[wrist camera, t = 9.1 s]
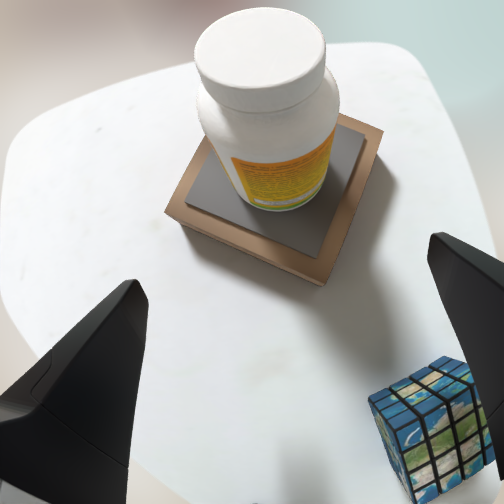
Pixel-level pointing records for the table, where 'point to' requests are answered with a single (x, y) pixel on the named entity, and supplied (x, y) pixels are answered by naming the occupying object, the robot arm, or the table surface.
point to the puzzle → (433, 428)
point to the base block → (285, 222)
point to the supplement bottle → (268, 104)
